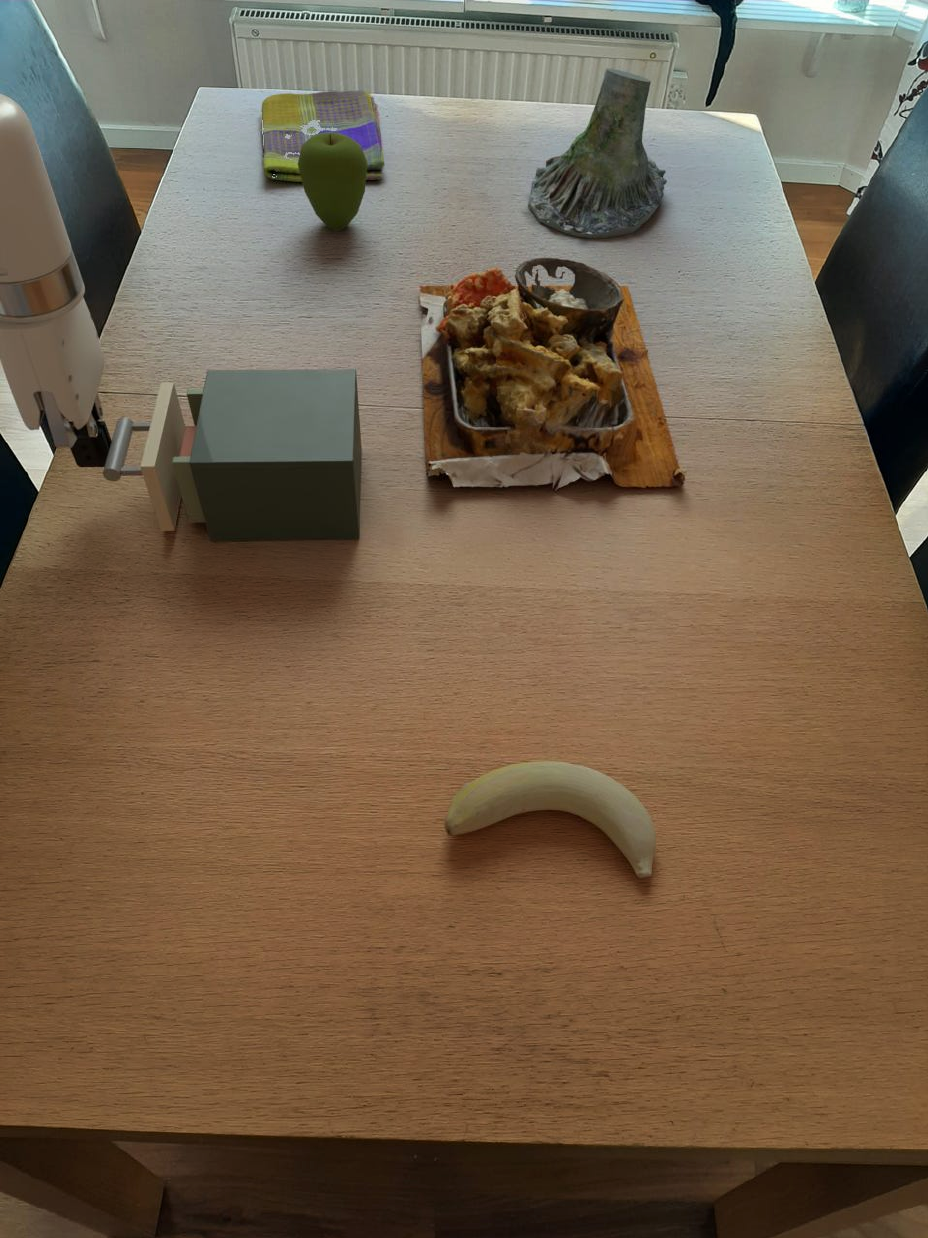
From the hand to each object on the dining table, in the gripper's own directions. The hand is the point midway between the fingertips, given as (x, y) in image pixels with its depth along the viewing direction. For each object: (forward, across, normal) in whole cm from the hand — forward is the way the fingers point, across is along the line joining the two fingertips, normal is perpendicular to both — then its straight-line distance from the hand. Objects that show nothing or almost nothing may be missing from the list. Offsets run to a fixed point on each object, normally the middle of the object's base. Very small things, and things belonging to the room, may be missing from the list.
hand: (97, 460), depth 83 cm
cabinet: (+4, 0, +17) cm, 17 cm away
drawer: (+3, 0, +10) cm, 10 cm away
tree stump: (+5, -57, +55) cm, 79 cm away
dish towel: (+5, -73, +17) cm, 75 cm away
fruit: (+4, +36, +38) cm, 52 cm away
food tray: (+5, -17, +43) cm, 46 cm away
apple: (+5, -50, +20) cm, 54 cm away
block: (+2, 0, +10) cm, 11 cm away
